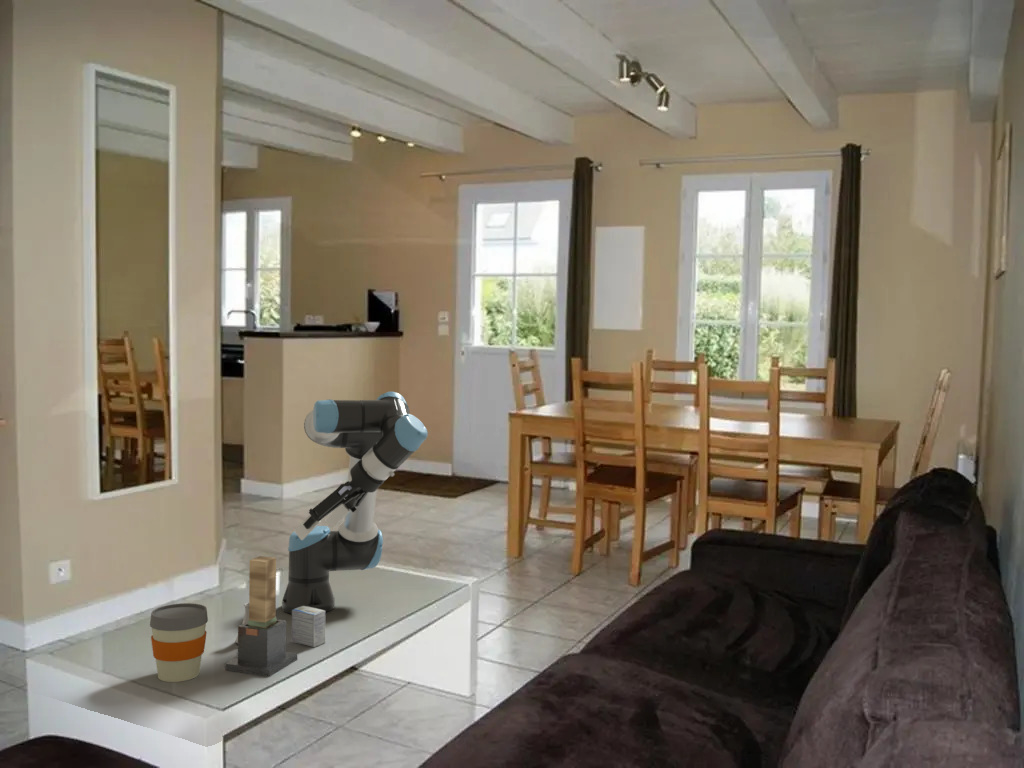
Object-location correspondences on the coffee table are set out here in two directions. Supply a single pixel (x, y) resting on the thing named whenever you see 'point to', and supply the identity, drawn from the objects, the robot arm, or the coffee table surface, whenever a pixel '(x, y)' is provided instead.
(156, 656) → the reusable coffee cup
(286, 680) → the coffee table surface
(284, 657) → the metal stand
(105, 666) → the coffee table surface
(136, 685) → the coffee table surface
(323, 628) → the medicine box
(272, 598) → the oak block
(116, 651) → the coffee table surface
